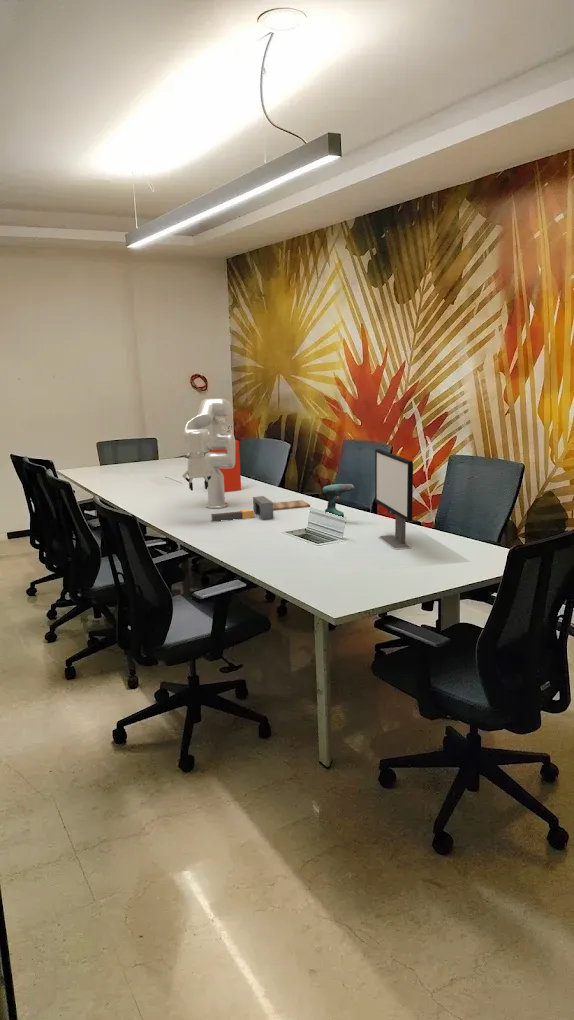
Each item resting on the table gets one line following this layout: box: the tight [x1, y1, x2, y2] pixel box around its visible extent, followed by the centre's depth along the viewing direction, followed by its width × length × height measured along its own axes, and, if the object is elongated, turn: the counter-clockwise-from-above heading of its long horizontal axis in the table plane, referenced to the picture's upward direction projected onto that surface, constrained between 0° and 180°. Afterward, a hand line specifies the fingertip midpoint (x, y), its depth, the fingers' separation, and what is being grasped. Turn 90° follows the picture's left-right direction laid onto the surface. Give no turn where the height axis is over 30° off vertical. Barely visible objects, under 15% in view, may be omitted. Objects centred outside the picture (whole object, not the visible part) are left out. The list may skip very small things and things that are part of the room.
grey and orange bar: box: [210, 508, 255, 522], centre depth 346 cm, size 23×4×4 cm, turn 108°
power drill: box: [322, 483, 355, 518], centre depth 332 cm, size 7×16×20 cm, turn 70°
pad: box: [273, 499, 311, 512], centre depth 372 cm, size 26×14×1 cm, turn 108°
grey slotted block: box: [252, 495, 274, 521], centre depth 351 cm, size 6×18×9 cm, turn 18°
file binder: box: [209, 439, 242, 493], centre depth 419 cm, size 8×17×32 cm, turn 111°
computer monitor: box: [374, 448, 414, 551], centre depth 290 cm, size 41×8×40 cm, turn 12°
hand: (198, 489), depth 338 cm, fingers open, 6 cm apart
